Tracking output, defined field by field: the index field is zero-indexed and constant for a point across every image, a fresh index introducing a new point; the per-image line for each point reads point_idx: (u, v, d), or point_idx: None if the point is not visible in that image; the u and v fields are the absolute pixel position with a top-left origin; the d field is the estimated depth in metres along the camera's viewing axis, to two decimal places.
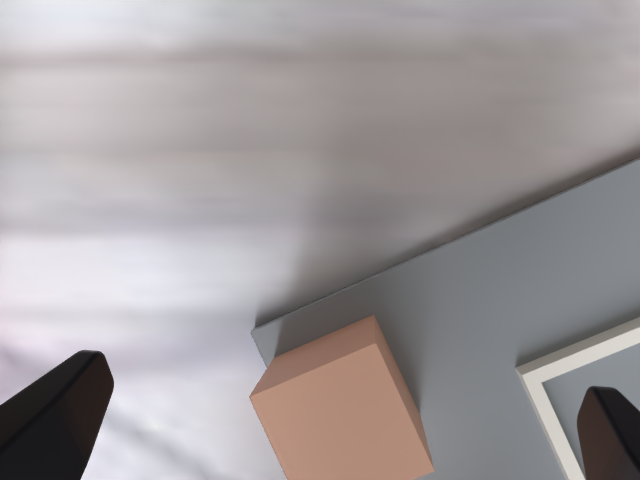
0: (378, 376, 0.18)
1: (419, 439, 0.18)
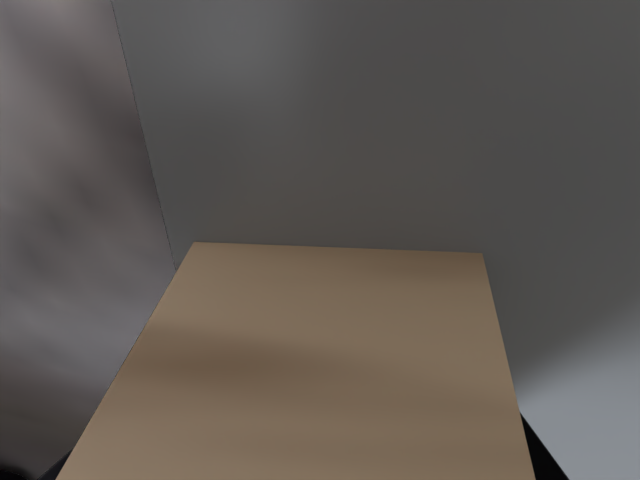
0: None
1: None
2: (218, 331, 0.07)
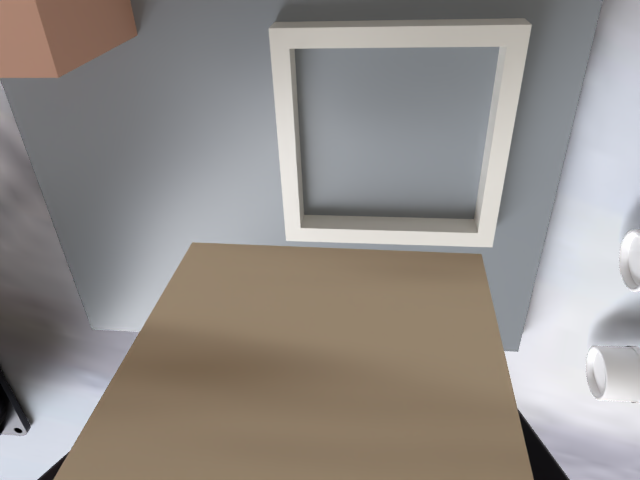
0: None
1: (43, 25, 0.12)
2: (216, 331, 0.07)
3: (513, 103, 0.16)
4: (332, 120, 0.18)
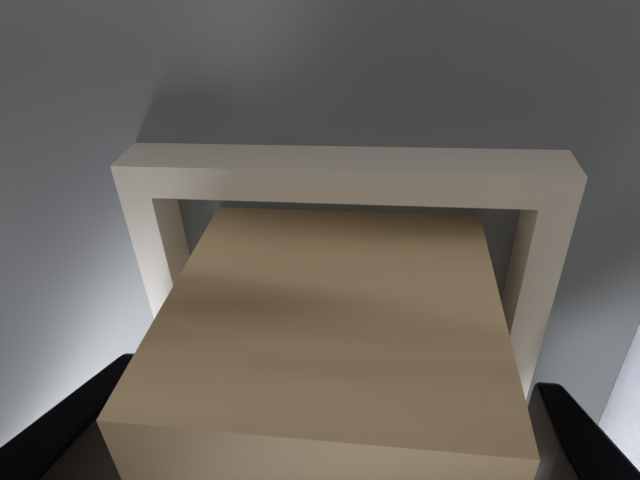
0: None
1: None
2: (244, 278, 0.08)
3: (547, 294, 0.09)
4: None
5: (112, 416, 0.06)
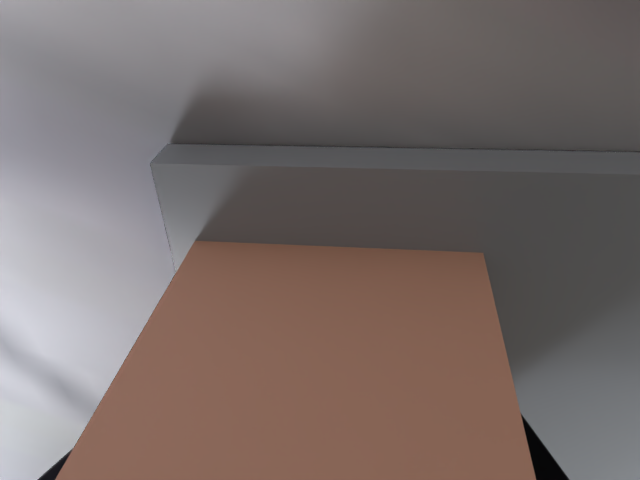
0: None
1: None
2: None
3: None
4: None
5: None
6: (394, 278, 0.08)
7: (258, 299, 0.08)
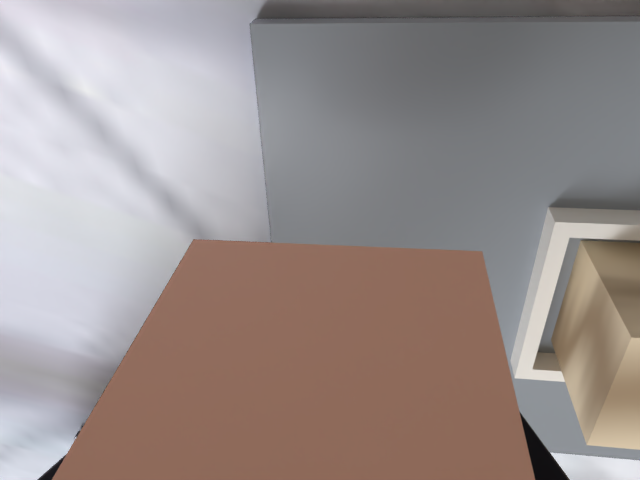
0: None
1: None
2: (634, 278, 0.17)
3: None
4: None
5: (636, 336, 0.15)
6: (393, 276, 0.08)
7: (257, 297, 0.08)
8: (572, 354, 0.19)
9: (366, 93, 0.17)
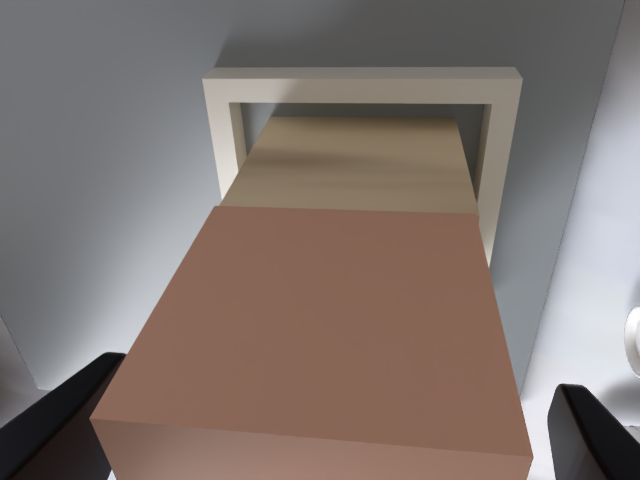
0: None
1: None
2: (296, 149, 0.12)
3: (501, 169, 0.13)
4: None
5: (227, 205, 0.10)
6: (396, 235, 0.09)
7: (274, 252, 0.09)
8: None
9: None
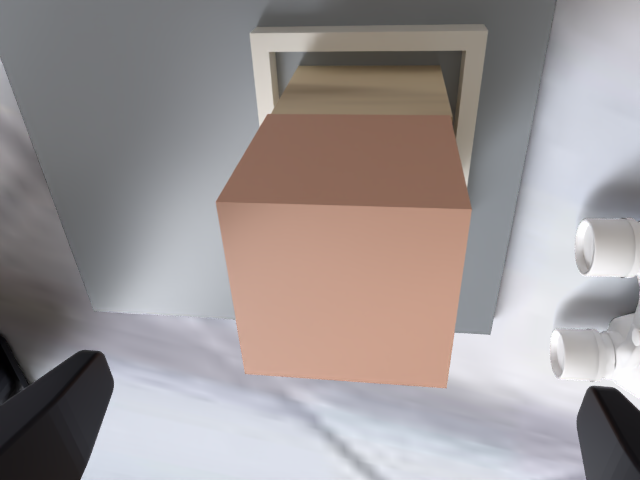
0: (443, 256, 0.10)
1: (450, 350, 0.12)
2: (320, 84, 0.17)
3: (474, 102, 0.18)
4: None
5: None
6: (395, 125, 0.13)
7: (313, 135, 0.13)
8: None
9: None
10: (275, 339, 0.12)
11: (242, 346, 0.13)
